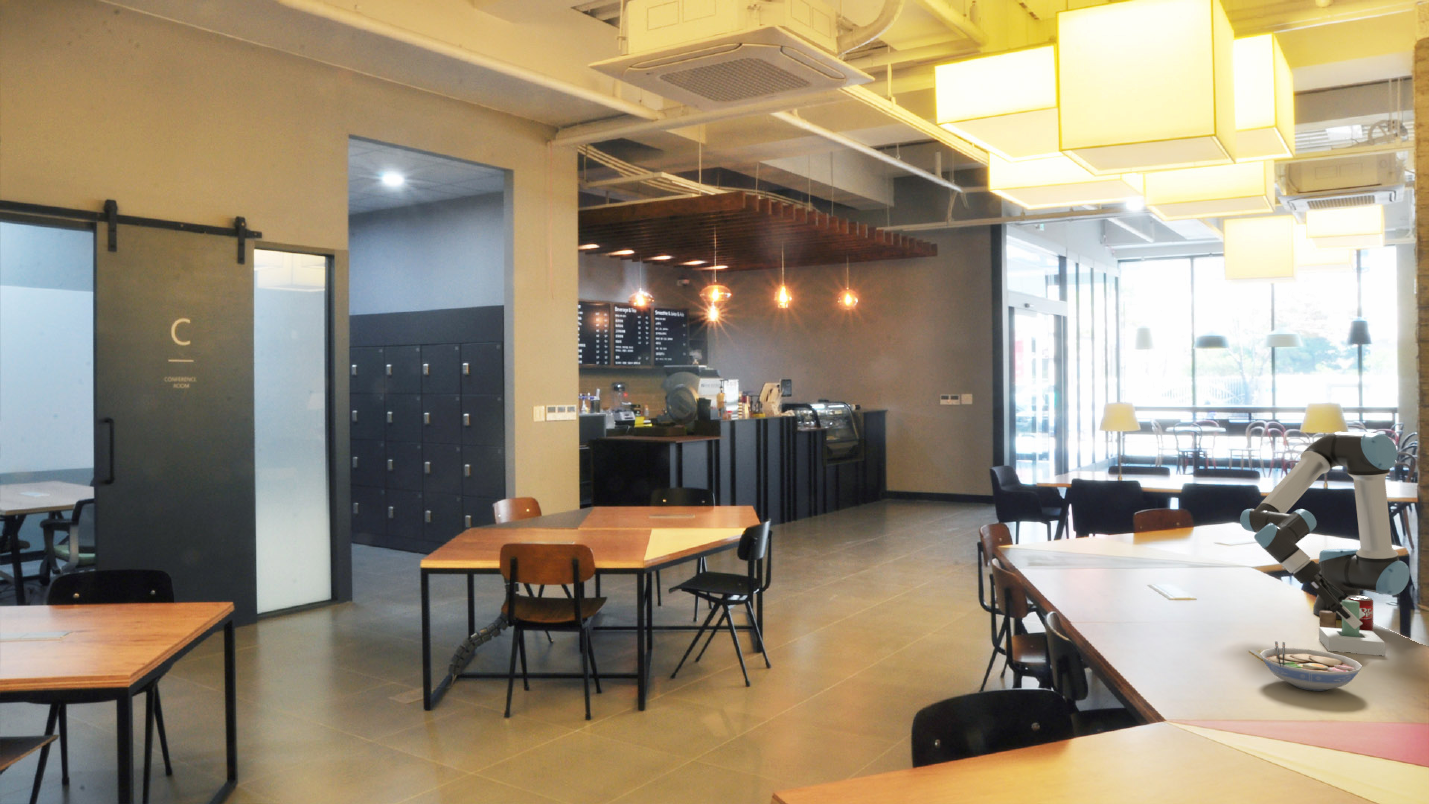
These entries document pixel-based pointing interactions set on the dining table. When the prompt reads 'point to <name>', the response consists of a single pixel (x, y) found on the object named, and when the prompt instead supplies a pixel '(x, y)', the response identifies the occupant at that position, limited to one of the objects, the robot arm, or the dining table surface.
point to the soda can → (1365, 611)
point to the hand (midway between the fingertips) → (1360, 621)
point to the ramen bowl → (1310, 667)
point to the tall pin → (1354, 609)
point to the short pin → (1327, 619)
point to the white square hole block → (1352, 642)
